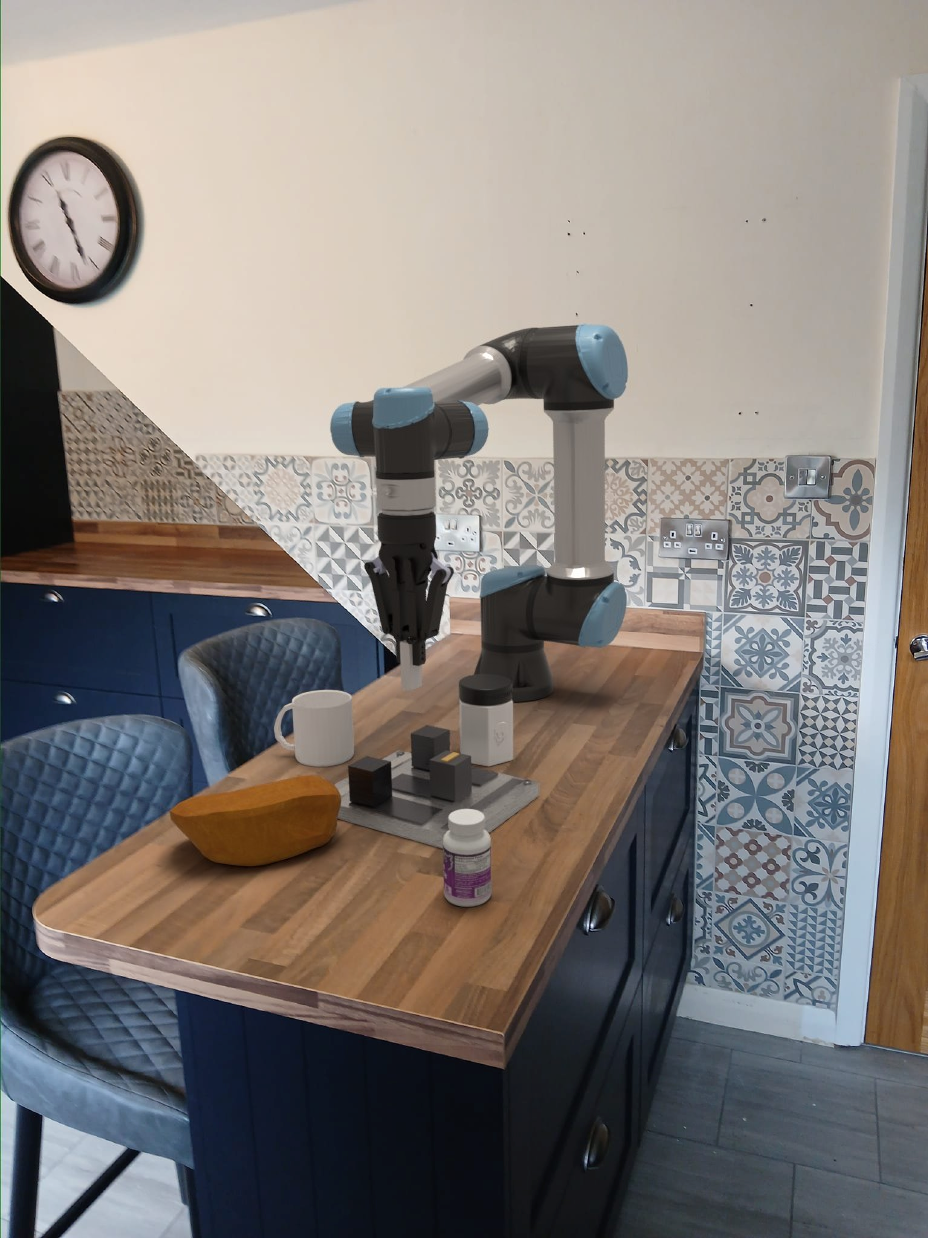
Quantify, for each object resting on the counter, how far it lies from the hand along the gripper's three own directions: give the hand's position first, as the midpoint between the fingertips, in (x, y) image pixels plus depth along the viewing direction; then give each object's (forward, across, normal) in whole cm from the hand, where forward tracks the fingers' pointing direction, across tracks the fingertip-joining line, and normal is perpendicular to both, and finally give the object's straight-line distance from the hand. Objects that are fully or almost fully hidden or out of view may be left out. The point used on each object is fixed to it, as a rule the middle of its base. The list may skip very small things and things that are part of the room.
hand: (411, 687), depth 128 cm
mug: (+17, -23, +6) cm, 29 cm away
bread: (+17, -9, -21) cm, 28 cm away
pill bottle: (+16, +20, -18) cm, 31 cm away
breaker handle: (+14, +6, 0) cm, 15 cm away
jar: (+17, 0, +19) cm, 25 cm away
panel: (+16, +2, 0) cm, 16 cm away
